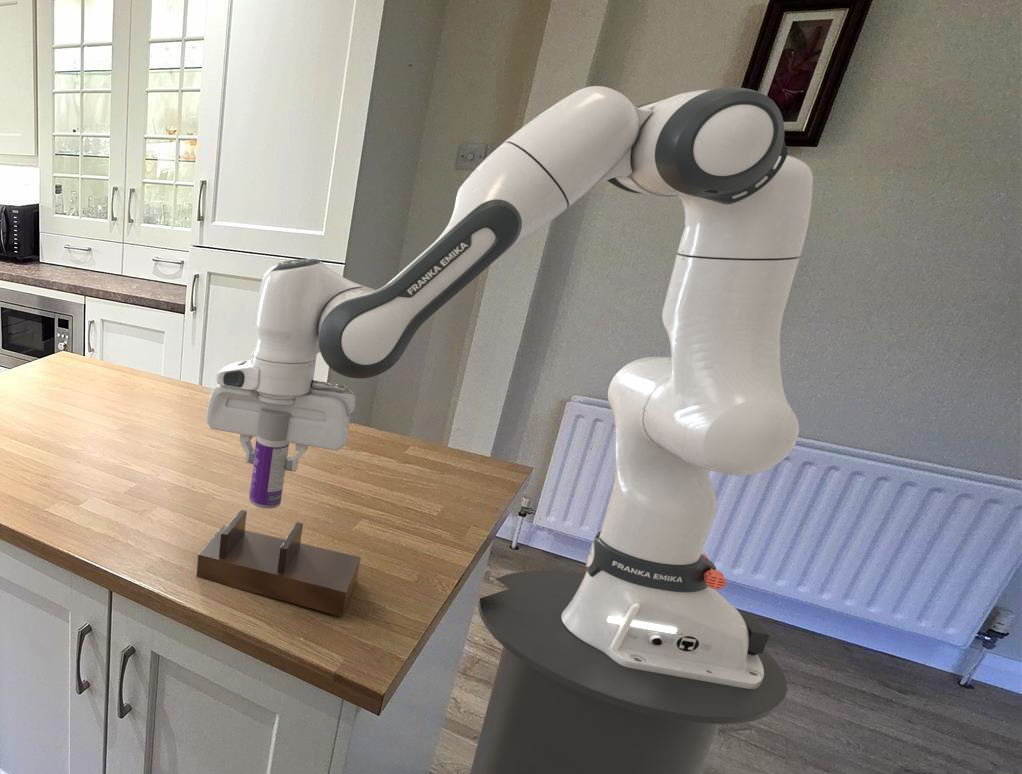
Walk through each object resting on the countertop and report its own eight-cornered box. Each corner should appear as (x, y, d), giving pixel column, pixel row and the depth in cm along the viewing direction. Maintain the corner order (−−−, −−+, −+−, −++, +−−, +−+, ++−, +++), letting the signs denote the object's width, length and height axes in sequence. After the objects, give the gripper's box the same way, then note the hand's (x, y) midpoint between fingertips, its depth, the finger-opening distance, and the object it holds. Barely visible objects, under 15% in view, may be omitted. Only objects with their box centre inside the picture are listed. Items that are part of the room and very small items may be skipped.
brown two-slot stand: (356, 579, 115) (364, 533, 112) (342, 616, 105) (350, 567, 102) (221, 546, 125) (225, 503, 122) (196, 577, 116) (199, 531, 113)
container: (242, 497, 113) (253, 406, 107) (267, 491, 115) (279, 402, 109) (261, 511, 110) (273, 418, 103) (287, 505, 111) (300, 412, 105)
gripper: (361, 381, 103) (347, 472, 108) (220, 363, 112) (213, 448, 117) (353, 391, 98) (338, 487, 103) (206, 371, 107) (199, 460, 112)
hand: (270, 466), depth 110 cm, fingers closed on container, 4 cm apart
